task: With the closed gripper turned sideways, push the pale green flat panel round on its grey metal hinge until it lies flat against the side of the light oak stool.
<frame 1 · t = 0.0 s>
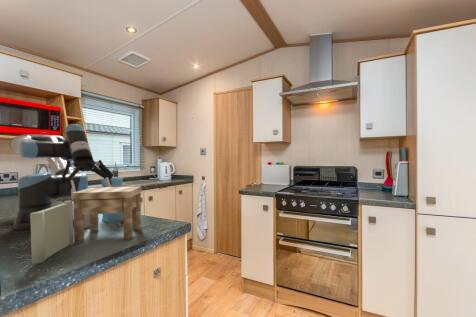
hand: (93, 193, 99), 15 cm above the worktop, tool tilted 35°, fingers open, 13 cm apart
flask: (84, 227, 102), on the worktop
condiment: (129, 223, 108), on the worktop
pale green flat panel: (54, 229, 73), point 8 cm above the worktop, hinge at -90.0°
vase: (112, 219, 114), on the worktop
stool: (110, 235, 91), on the worktop
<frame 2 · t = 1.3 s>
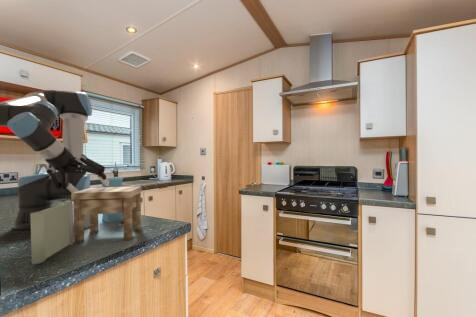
hand: (93, 189, 98), 17 cm above the worktop, tool tilted 45°, fingers open, 12 cm apart
nothing on the worktop moved.
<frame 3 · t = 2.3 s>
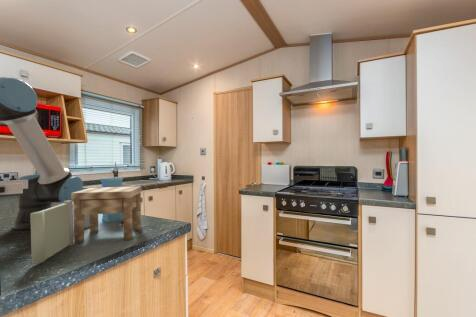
hand: (25, 185, 69), 22 cm above the worktop, tool horizontal, fingers open, 13 cm apart
nothing on the worktop moved.
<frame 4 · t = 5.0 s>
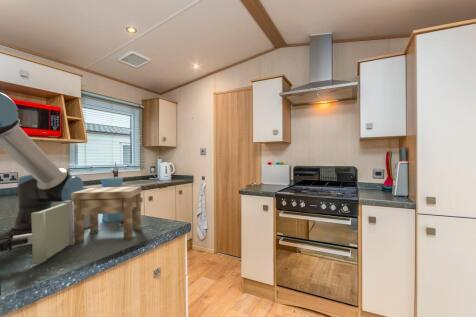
hand: (42, 236, 70), 7 cm above the worktop, tool horizontal, fingers closed
pale green flat panel: (54, 229, 73), point 8 cm above the worktop, hinge at -89.0°, touching gripper
everything else where it was.
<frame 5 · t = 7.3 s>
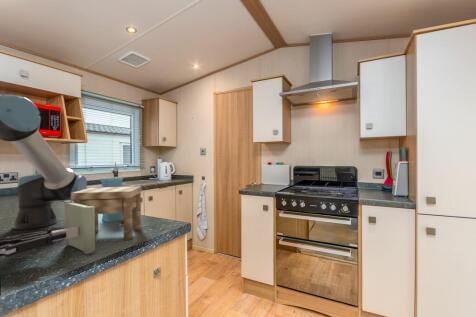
hand: (77, 231, 75), 7 cm above the worktop, tool horizontal, fingers closed
pale green flat panel: (78, 225, 77), point 8 cm above the worktop, hinge at -39.8°, touching gripper
everything else where it was.
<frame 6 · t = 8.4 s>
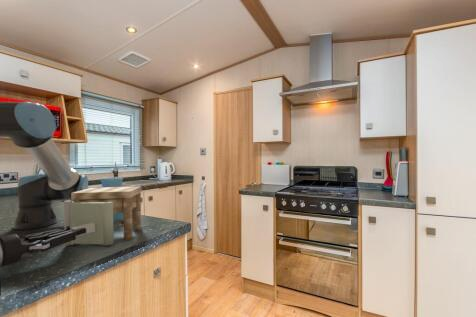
hand: (93, 226, 79), 7 cm above the worktop, tool horizontal, fingers closed
pale green flat panel: (88, 222, 80), point 8 cm above the worktop, hinge at -11.5°, touching gripper
everything else where it was.
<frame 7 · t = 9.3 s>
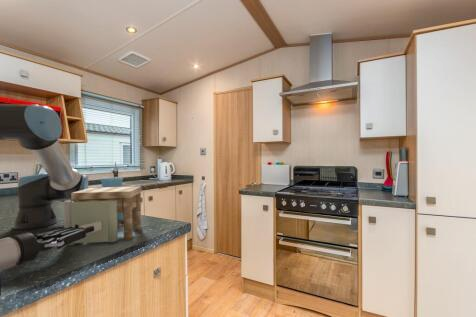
hand: (100, 225, 81), 7 cm above the worktop, tool horizontal, fingers closed
pale green flat panel: (91, 221, 82), point 8 cm above the worktop, hinge at -0.7°, touching gripper
everything else where it was.
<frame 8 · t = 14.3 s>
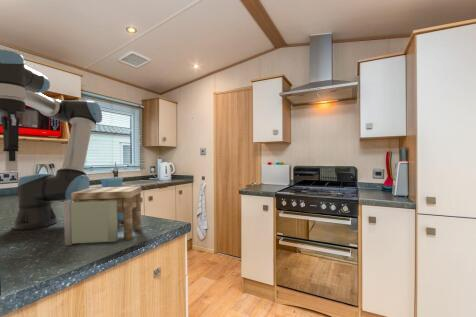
hand: (11, 171, 77), 26 cm above the worktop, tool pointing down, fingers closed
pale green flat panel: (91, 221, 82), point 8 cm above the worktop, hinge at -0.6°
everything else where it was.
at the end: pale green flat panel at -1° (first picture: -90°) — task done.
